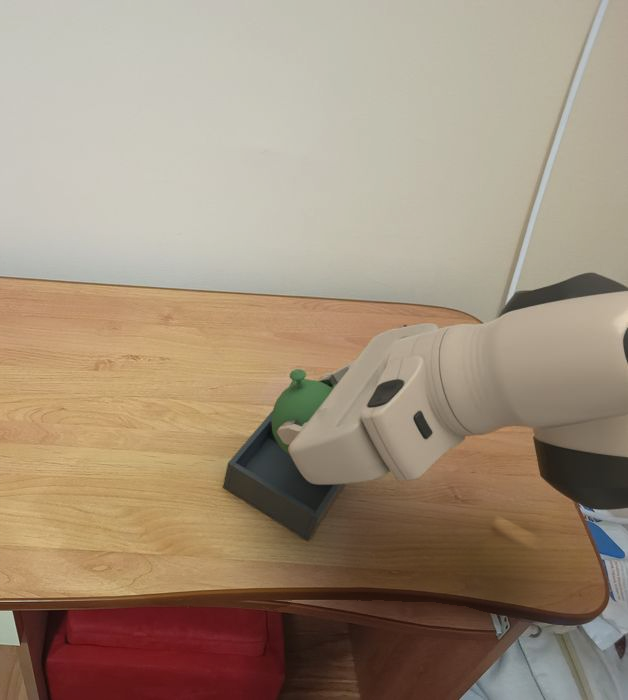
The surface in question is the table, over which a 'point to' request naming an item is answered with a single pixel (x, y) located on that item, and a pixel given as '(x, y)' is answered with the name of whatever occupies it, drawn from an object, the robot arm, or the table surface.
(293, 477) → the crate
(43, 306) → the table surface
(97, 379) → the table surface
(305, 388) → the alien toy
